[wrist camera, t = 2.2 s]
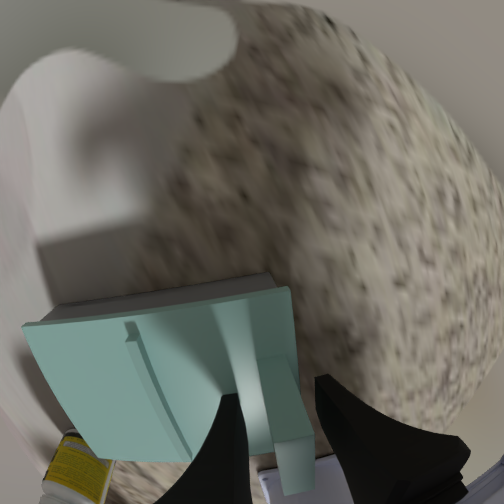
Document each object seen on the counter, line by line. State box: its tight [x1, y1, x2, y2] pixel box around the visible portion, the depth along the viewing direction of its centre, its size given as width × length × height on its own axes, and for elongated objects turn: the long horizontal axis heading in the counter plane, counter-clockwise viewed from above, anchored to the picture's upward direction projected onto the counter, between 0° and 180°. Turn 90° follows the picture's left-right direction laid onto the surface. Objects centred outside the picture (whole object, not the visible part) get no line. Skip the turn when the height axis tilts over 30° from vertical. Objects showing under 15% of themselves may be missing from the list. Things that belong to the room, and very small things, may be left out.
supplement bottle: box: [39, 429, 116, 504], centre depth 12 cm, size 5×5×8 cm
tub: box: [40, 272, 277, 321], centre depth 13 cm, size 9×12×3 cm
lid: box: [21, 286, 315, 496], centre depth 9 cm, size 10×13×5 cm
